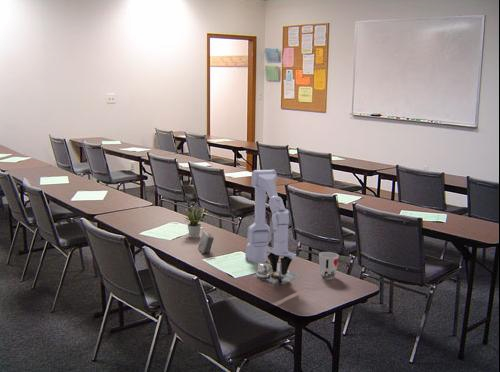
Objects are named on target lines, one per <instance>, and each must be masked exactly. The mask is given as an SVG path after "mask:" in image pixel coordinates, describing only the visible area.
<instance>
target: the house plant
mask: <svg viewBox="0 0 500 372" xmlns="http://www.w3.org/2000/svg"><path fill="white" fill-rule="evenodd" d="M204 208H205V207H204V206H203V207H201V208H200V209H199V210H198V211H197V210H196V208H195V207H194V206H192V208H191V210H192V213H191V211H189V210H188V209H187V208H185V211H187V212H186V215H187V216H186V217H185V219H186V220H185V222H188V224H187V229H188V235H189V236H188V237H190V236H191V238H199V237H200V232H201V229H202V228H201V227H202V224H201V223H199V222H201V219H202V217H203V216H204V215H203V213H204V212H209V210H208V209H207V210H206V209H205V210H203V209H204ZM185 211H183V213H185ZM204 220H206V219H205V218H203V220H202V222H204ZM204 223H205V222H204ZM198 236H199V237H198Z"/></svg>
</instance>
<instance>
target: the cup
mask: <svg viewBox="0 0 500 372" xmlns="http://www.w3.org/2000/svg"><path fill="white" fill-rule="evenodd" d="M318 257H319V258H318V260H319V261H318V262H319V272H320V275H321V276H322V277H323V279H324V280H333V279H334V278H335V275H336V273H337V269H338V263H339V254H338V253H336V252H333V251H322V252H320V253H318Z"/></svg>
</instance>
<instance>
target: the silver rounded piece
mask: <svg viewBox="0 0 500 372" xmlns="http://www.w3.org/2000/svg"><path fill="white" fill-rule="evenodd" d="M268 269H269V263H267V262H264V263H257V271H256V272H255V275H256V277H258V278H257V279H259V278H268V277H270V272H268ZM256 277H255V278H256Z"/></svg>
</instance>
